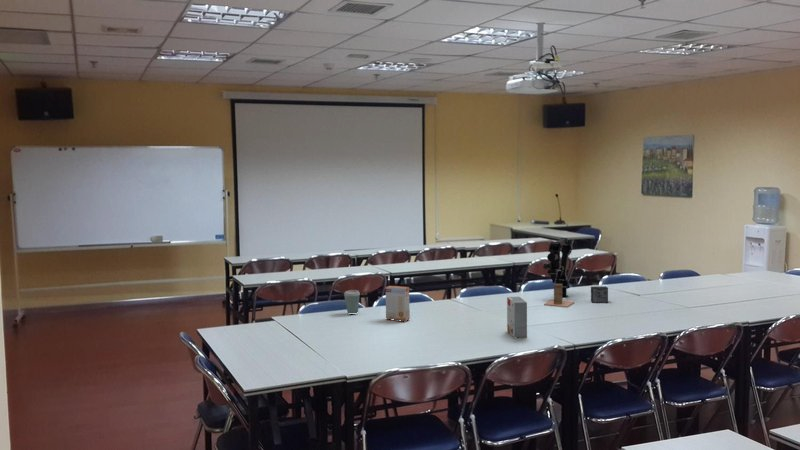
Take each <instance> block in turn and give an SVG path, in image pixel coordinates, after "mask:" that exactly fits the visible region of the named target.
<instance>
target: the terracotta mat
mask: <svg viewBox="0 0 800 450" xmlns="http://www.w3.org/2000/svg"><path fill="white" fill-rule="evenodd" d="M574 304H575V301H573V300H562V304H554V299H550V300H548V301H547V302H545V303H543V306H548V307H557V308H558V307H559V308H569V307H571V306H573V305H574Z"/></svg>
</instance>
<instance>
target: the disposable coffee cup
mask: <svg viewBox="0 0 800 450" xmlns="http://www.w3.org/2000/svg"><path fill="white" fill-rule="evenodd" d="M360 295H361V293H360V291H359V290H357V289H349V290H346V291H344V293H343V296H344V302H345V308H346V311H347V314H348V313H357V312H358V313H359V305H360V297H361V296H360Z"/></svg>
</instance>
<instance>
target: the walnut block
mask: <svg viewBox="0 0 800 450" xmlns="http://www.w3.org/2000/svg"><path fill="white" fill-rule="evenodd" d="M553 300H554V304H562V301H563V297H562V284H555V283H553Z"/></svg>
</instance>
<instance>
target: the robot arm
mask: <svg viewBox="0 0 800 450" xmlns="http://www.w3.org/2000/svg"><path fill="white" fill-rule="evenodd" d="M573 249H574V246H573V243H572V241H570V240H569V238H568V237H560V238H559V239H558V240H555V241H554V240H553V241H551V242H550V243H549V247H548V252H549V253H548V254H547V256H546V257H547V261H548V262H549V263H543V266H542V268H543V269H544V270H547V272H546V273H547V274H548V275H549V276H550V278H551V280H552V283H553V284H562V298H567V297H568V296H569V294H567V291H568V289H570V283H569V280H568V279H569V278H568V276H567V270H568V263H569V257H570V255H571V254H572V252H573V251H572V250H573Z"/></svg>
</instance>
